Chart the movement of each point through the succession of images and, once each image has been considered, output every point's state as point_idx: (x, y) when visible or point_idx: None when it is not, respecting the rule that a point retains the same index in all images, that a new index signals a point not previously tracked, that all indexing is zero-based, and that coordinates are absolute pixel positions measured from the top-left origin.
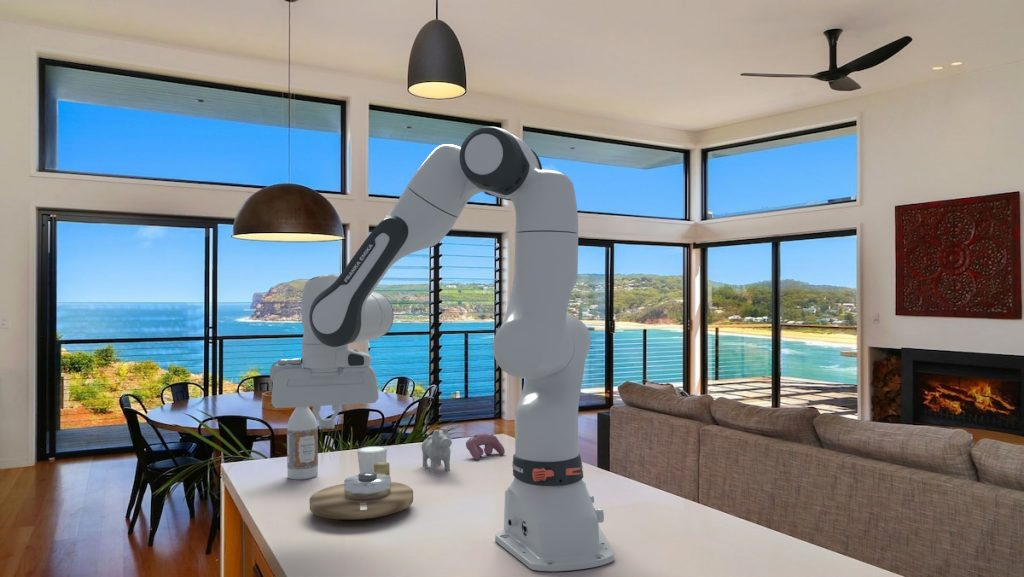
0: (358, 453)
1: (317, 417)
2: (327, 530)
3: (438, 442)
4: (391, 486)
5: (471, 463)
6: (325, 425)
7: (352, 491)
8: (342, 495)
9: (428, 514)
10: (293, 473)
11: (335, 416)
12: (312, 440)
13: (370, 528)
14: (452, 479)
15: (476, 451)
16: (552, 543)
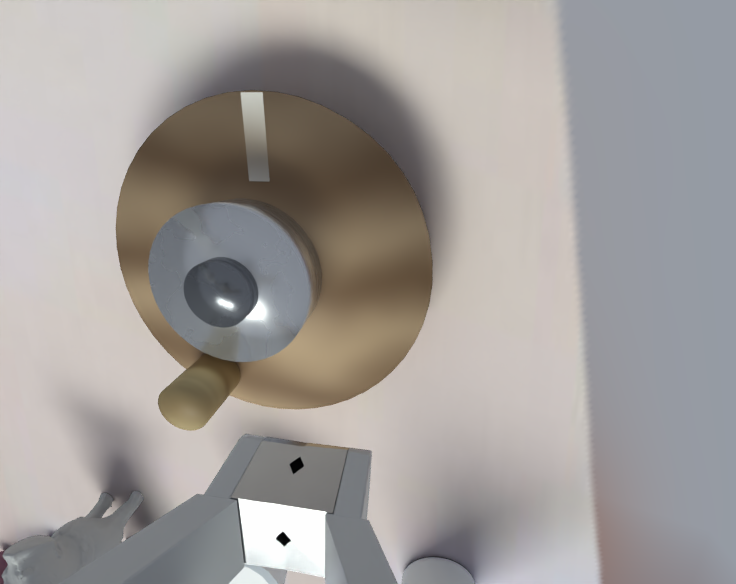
0: (279, 575)
1: (369, 551)
2: (381, 108)
3: (45, 555)
4: None
5: (62, 523)
6: (308, 460)
7: (283, 225)
8: (328, 288)
9: (106, 169)
10: (463, 580)
11: (166, 517)
12: None
13: (255, 86)
14: (87, 432)
15: None
16: None
